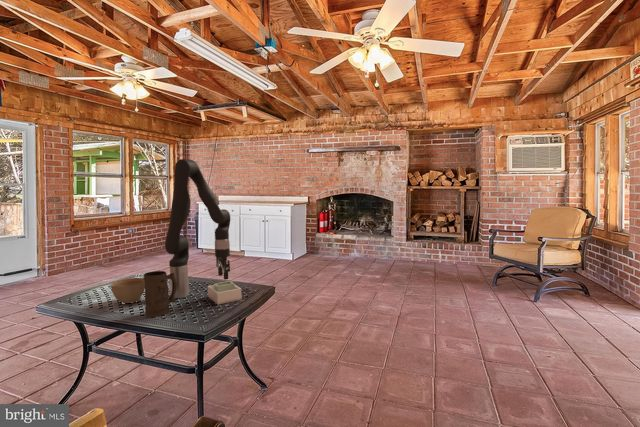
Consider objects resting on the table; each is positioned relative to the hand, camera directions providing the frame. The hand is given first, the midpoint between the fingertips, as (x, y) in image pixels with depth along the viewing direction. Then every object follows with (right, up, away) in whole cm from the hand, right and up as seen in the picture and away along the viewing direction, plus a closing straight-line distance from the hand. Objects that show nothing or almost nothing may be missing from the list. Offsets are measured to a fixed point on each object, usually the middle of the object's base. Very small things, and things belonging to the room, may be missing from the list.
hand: (223, 277), depth 186 cm
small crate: (0, -10, +1) cm, 10 cm away
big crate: (0, -11, +1) cm, 11 cm away
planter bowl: (-49, -13, -1) cm, 51 cm away
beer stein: (-25, -14, -17) cm, 33 cm away
